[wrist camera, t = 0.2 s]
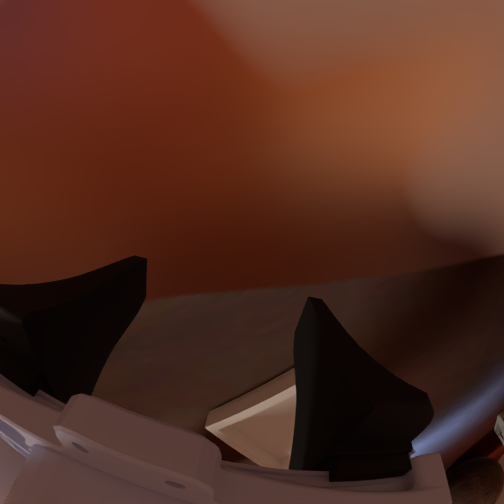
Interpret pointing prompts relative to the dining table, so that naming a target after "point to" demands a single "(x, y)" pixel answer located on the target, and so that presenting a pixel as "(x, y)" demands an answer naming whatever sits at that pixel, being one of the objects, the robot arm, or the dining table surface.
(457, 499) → the glass ball
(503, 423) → the coffee box
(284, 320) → the dining table surface
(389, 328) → the dining table surface
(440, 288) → the dining table surface
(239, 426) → the tray
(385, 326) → the dining table surface
